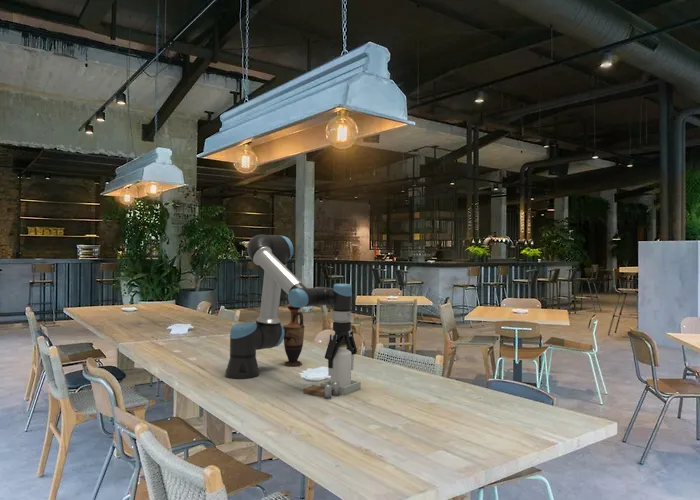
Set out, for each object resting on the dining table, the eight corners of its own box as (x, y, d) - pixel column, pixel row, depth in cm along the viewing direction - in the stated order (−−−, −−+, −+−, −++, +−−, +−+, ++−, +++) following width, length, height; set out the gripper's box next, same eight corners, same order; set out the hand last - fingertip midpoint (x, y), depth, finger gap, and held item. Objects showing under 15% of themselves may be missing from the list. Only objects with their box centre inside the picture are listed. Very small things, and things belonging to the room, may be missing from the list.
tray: (320, 390, 205) (320, 383, 205) (337, 384, 214) (337, 377, 215) (344, 395, 198) (344, 387, 198) (360, 388, 208) (360, 381, 208)
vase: (278, 365, 249) (279, 305, 249) (288, 361, 259) (289, 303, 260) (297, 367, 245) (298, 306, 245) (307, 363, 255) (308, 304, 255)
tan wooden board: (303, 394, 199) (303, 388, 199) (312, 390, 205) (313, 384, 205) (324, 398, 194) (324, 392, 194) (333, 394, 200) (333, 388, 200)
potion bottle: (348, 391, 201) (349, 346, 202) (328, 389, 203) (329, 345, 203) (352, 386, 210) (353, 343, 210) (333, 385, 211) (334, 342, 212)
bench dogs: (322, 398, 193) (323, 385, 193) (334, 393, 200) (334, 381, 200) (328, 399, 192) (328, 386, 192) (340, 395, 198) (340, 382, 198)
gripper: (331, 325, 194) (330, 380, 194) (365, 319, 215) (364, 368, 215) (316, 323, 198) (315, 377, 198) (351, 317, 219) (350, 366, 219)
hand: (341, 372), depth 206 cm, fingers open, 13 cm apart
